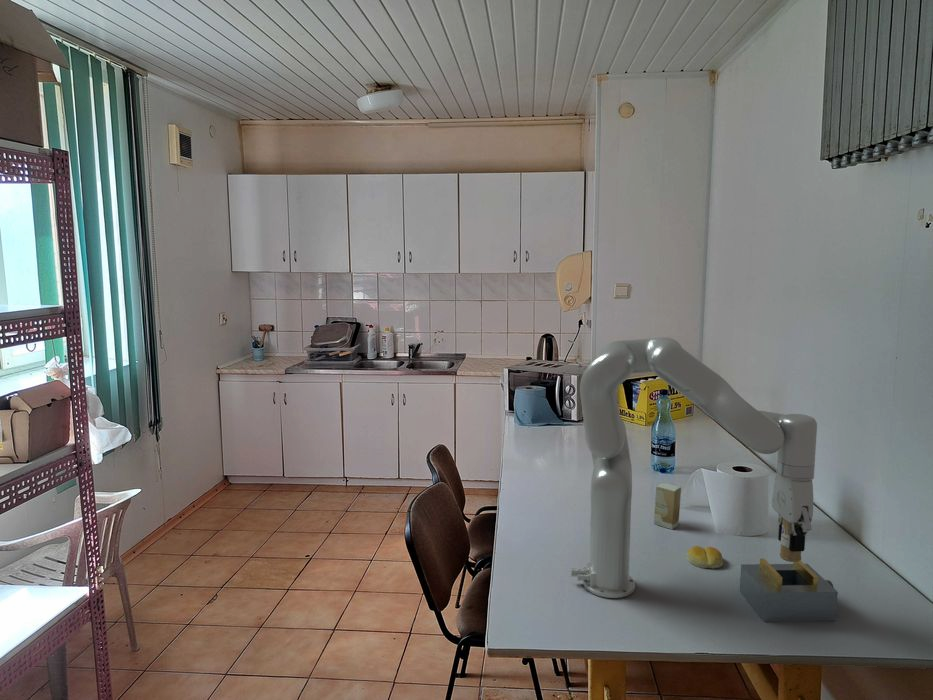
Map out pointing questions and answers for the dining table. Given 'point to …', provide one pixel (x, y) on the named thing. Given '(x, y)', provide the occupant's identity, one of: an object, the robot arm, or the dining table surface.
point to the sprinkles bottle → (785, 541)
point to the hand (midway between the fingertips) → (791, 544)
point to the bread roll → (705, 557)
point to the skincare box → (667, 505)
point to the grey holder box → (788, 592)
